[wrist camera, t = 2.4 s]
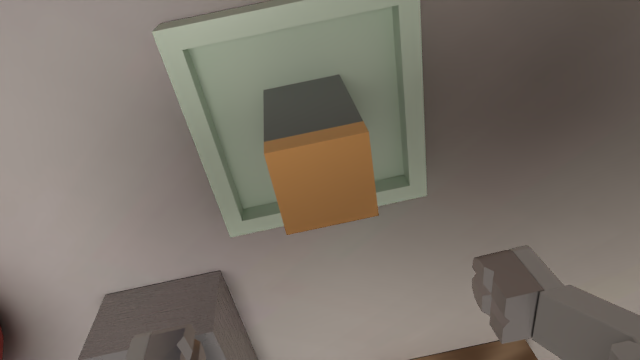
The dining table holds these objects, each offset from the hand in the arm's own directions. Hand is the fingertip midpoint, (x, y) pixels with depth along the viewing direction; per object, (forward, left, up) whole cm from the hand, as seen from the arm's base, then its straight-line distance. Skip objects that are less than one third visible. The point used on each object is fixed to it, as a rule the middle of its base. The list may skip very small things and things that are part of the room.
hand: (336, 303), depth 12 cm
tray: (-1, 0, -13) cm, 13 cm away
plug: (0, 0, -13) cm, 13 cm away
